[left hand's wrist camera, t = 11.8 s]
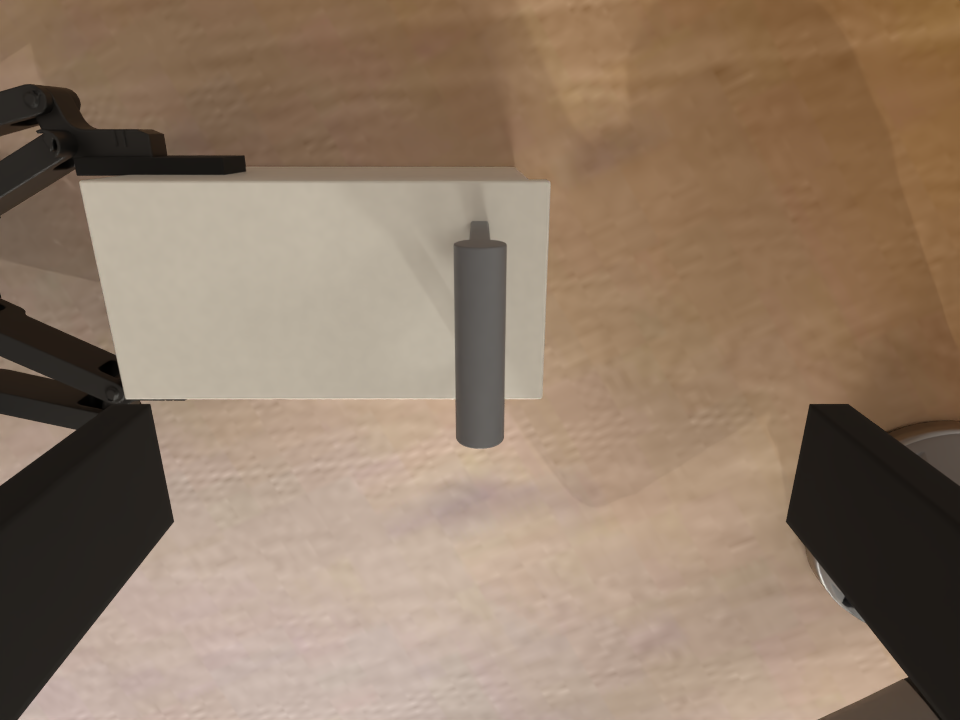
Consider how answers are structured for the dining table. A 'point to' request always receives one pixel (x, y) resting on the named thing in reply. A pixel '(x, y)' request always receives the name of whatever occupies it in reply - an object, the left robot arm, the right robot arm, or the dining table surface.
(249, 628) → the dining table surface
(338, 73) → the dining table surface
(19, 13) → the dining table surface
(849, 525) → the left robot arm
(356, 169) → the chest
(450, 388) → the lid
